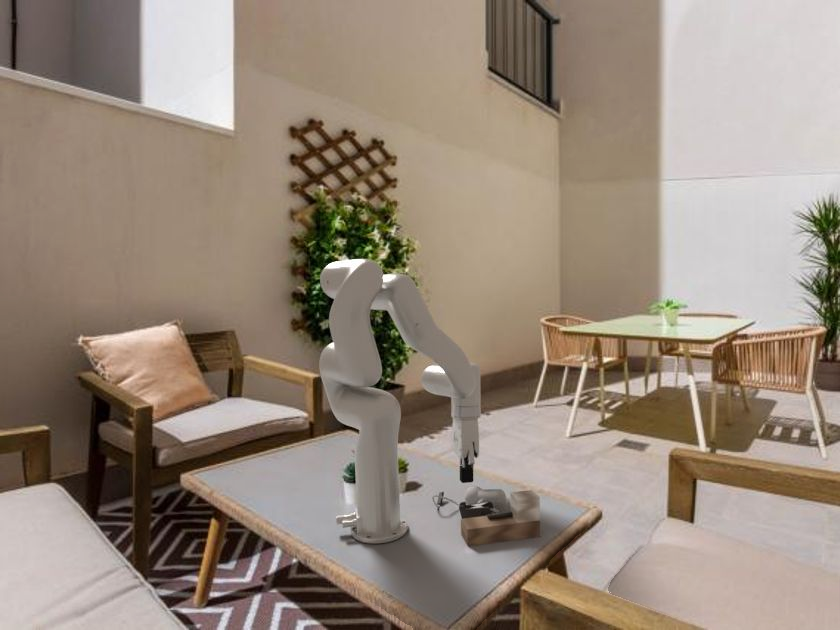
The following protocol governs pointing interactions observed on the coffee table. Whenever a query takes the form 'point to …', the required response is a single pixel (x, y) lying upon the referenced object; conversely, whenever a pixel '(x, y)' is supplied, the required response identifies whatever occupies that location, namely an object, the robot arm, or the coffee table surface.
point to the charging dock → (505, 522)
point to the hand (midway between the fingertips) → (466, 481)
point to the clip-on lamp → (476, 501)
